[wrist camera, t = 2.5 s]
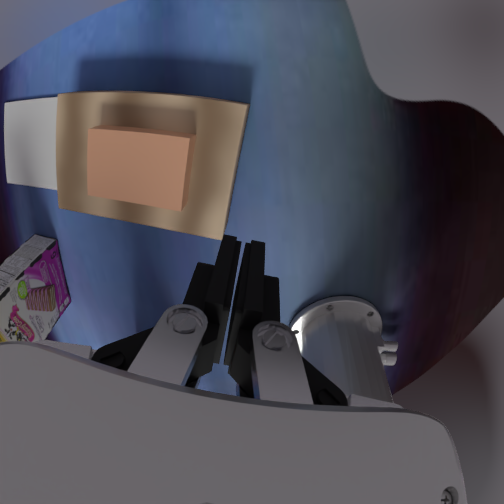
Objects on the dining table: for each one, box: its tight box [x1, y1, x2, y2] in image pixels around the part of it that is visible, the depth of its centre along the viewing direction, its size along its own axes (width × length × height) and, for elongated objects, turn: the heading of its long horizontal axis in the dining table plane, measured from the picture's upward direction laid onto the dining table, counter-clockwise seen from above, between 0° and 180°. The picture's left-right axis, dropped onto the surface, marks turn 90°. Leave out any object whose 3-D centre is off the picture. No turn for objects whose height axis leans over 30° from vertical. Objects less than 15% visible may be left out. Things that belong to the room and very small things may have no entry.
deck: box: [56, 91, 250, 240], centre depth 24 cm, size 18×12×4 cm, turn 79°
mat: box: [4, 97, 58, 190], centre depth 25 cm, size 12×11×1 cm
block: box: [87, 125, 196, 212], centre depth 22 cm, size 9×6×2 cm, turn 79°
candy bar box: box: [0, 234, 71, 343], centre depth 27 cm, size 11×5×16 cm, turn 170°
